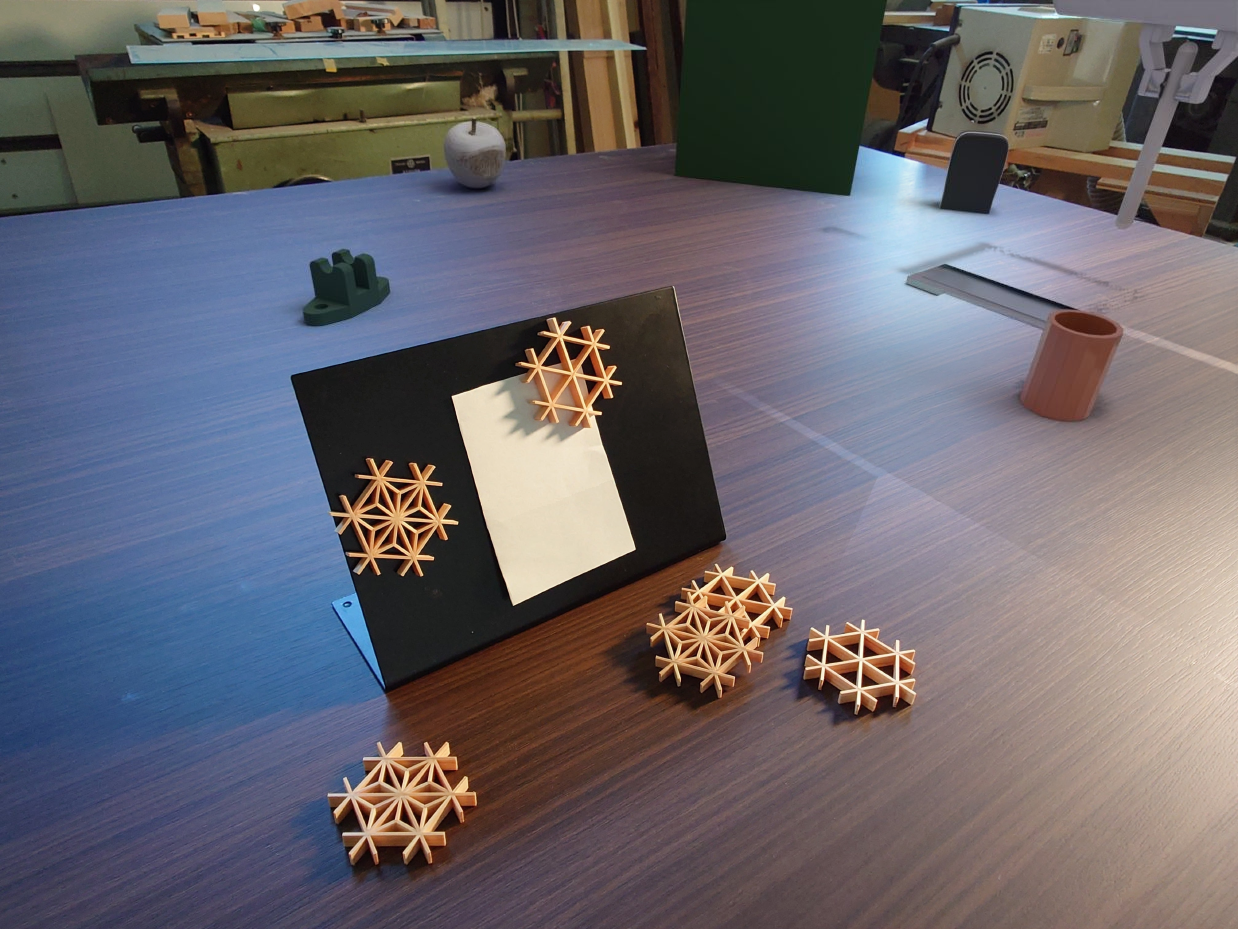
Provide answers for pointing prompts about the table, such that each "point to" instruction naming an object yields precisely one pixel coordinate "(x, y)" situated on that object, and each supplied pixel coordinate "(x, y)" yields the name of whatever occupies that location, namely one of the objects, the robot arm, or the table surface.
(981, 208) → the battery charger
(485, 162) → the decorative object
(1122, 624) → the table surface
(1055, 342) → the pen cup
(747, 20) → the binder
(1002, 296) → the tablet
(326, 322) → the mount
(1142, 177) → the stylus
